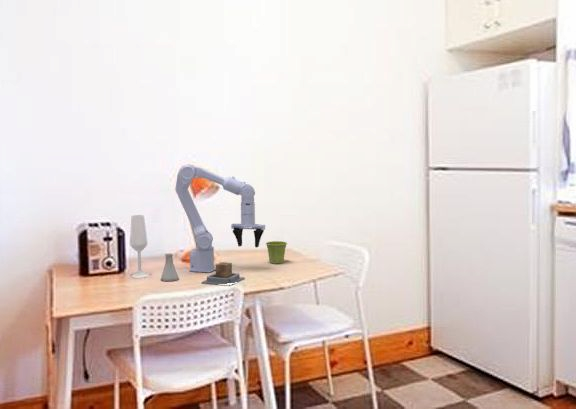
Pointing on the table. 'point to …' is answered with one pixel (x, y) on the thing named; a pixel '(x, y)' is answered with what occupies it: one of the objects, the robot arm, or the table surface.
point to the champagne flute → (138, 240)
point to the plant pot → (276, 251)
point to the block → (223, 270)
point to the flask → (169, 269)
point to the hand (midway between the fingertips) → (248, 246)
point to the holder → (222, 279)
